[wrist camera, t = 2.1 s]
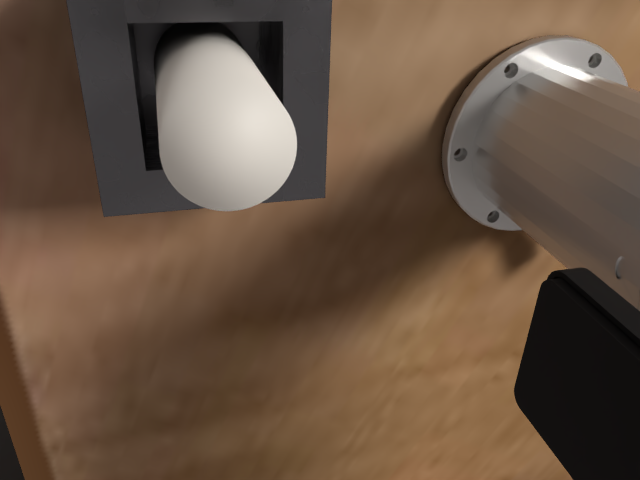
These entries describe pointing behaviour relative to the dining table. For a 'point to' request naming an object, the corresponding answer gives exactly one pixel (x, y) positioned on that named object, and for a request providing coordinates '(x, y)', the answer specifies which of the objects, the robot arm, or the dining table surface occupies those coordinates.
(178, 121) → the dowel pin
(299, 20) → the socket block
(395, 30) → the dining table surface
